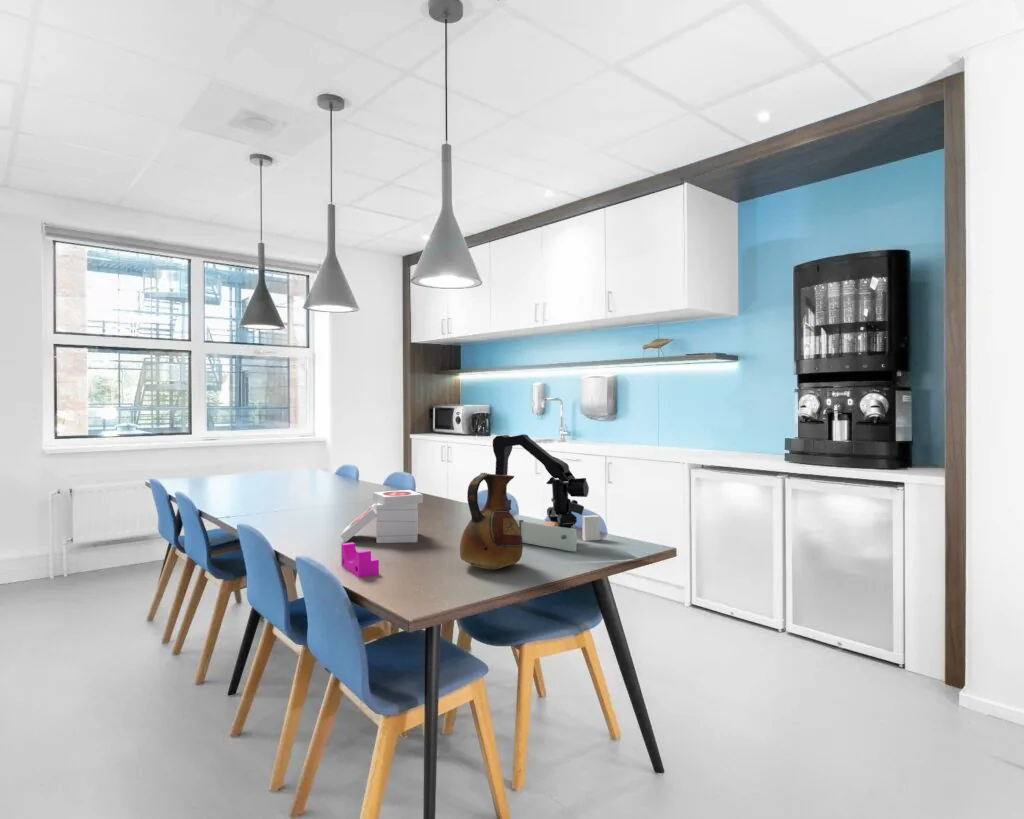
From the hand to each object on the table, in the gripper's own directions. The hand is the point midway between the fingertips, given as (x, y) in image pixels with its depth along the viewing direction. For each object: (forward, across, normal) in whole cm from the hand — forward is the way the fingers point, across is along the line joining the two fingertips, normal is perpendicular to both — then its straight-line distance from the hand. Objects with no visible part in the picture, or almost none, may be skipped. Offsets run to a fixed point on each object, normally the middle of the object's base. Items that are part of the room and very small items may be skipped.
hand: (562, 537), depth 228 cm
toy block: (-2, -21, +72) cm, 75 cm away
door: (+2, +5, +14) cm, 15 cm away
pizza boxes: (0, +20, +65) cm, 68 cm away
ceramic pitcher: (0, -26, +32) cm, 41 cm away
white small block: (+2, +5, +14) cm, 15 cm away
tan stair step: (+2, +2, +2) cm, 3 cm away
